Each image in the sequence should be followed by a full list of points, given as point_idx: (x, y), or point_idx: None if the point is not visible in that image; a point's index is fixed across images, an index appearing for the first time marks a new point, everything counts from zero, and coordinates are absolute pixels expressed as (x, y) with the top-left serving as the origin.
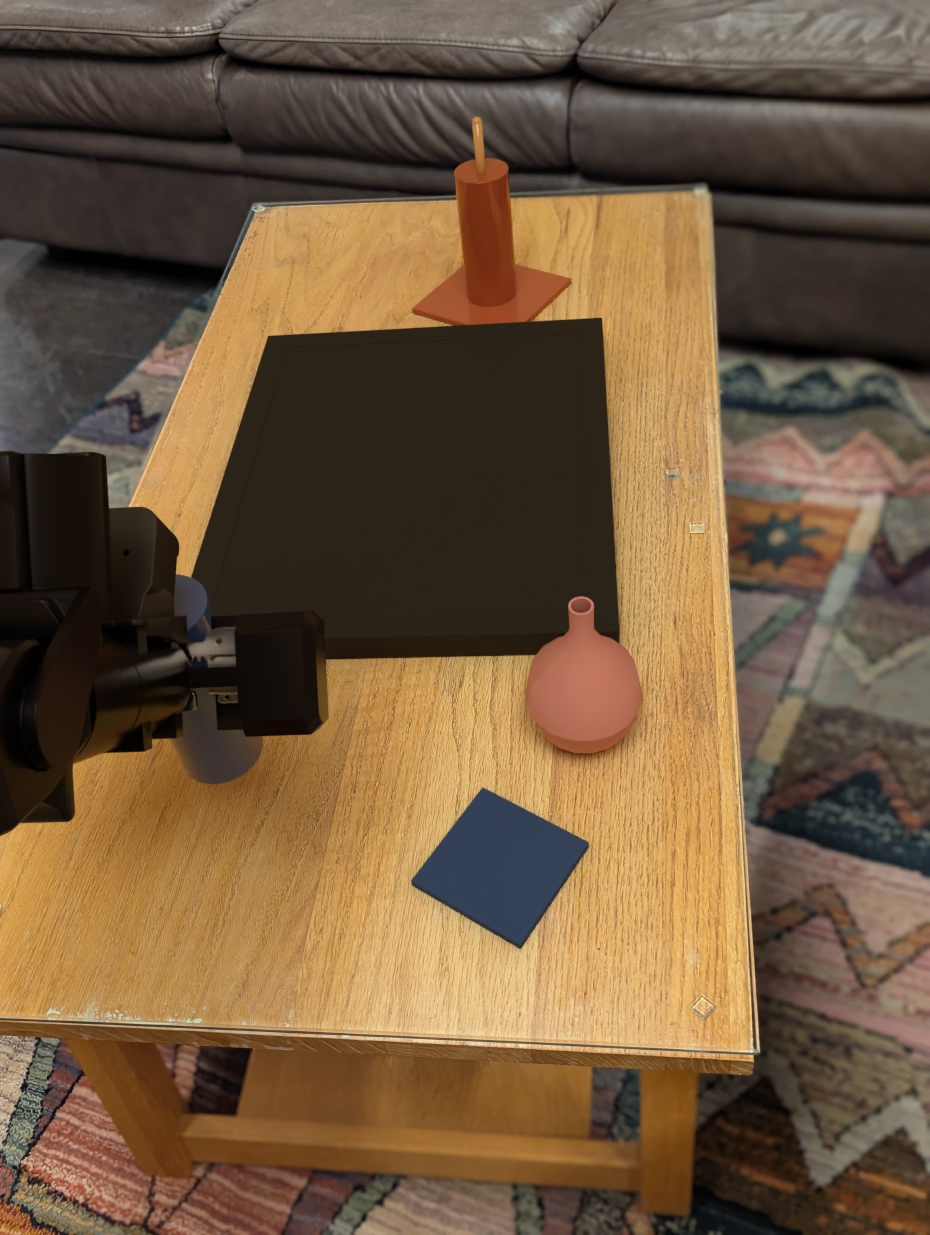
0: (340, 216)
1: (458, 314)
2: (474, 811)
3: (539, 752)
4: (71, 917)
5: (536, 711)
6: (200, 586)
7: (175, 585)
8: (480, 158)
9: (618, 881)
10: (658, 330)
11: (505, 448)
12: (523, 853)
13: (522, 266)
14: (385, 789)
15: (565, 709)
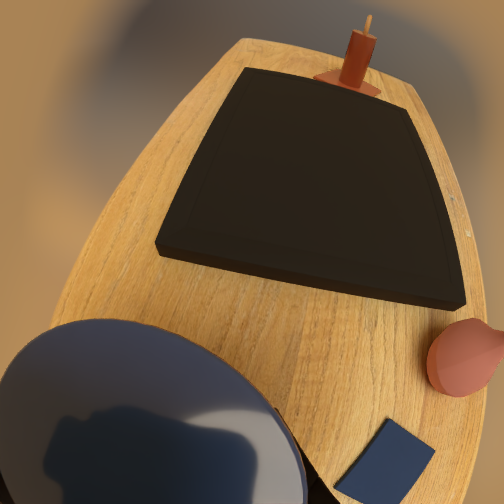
0: (275, 44)
1: (336, 84)
2: (383, 438)
3: (418, 386)
4: None
5: (447, 379)
6: (279, 433)
7: (169, 403)
8: (367, 29)
9: (439, 467)
10: (421, 125)
11: (386, 153)
12: (404, 464)
13: None
14: (321, 414)
15: (471, 387)
